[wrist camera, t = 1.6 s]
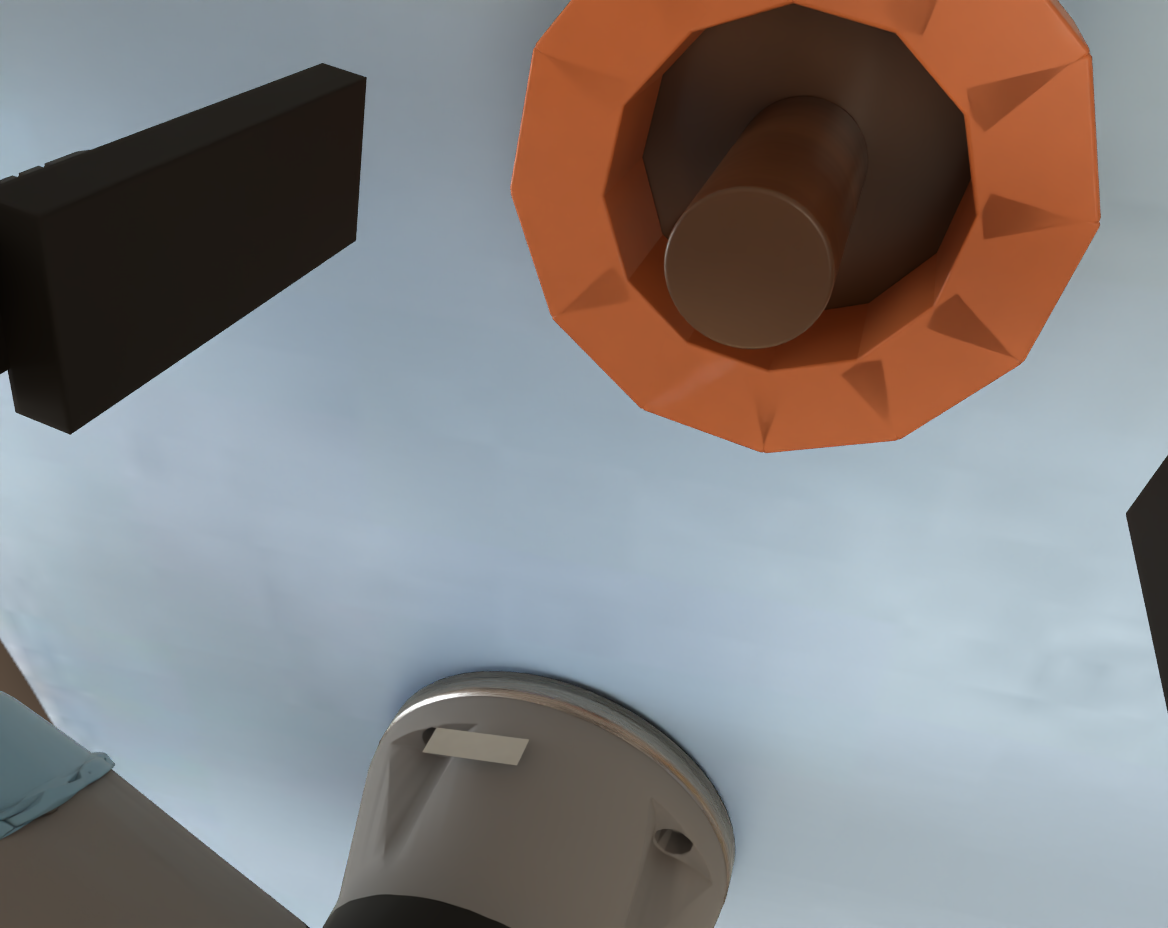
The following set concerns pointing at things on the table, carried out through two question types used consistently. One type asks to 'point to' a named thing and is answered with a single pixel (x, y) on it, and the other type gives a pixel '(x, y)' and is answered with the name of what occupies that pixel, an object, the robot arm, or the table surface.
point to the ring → (839, 336)
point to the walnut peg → (798, 171)
